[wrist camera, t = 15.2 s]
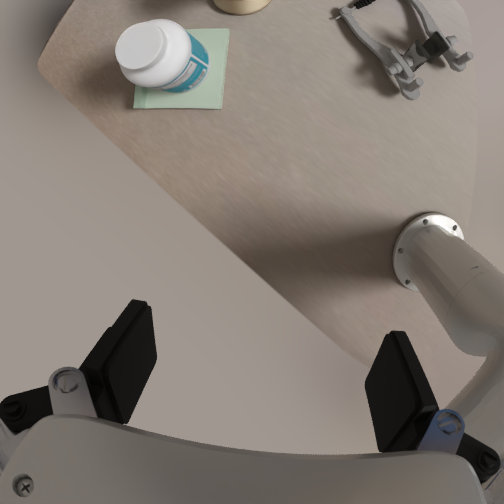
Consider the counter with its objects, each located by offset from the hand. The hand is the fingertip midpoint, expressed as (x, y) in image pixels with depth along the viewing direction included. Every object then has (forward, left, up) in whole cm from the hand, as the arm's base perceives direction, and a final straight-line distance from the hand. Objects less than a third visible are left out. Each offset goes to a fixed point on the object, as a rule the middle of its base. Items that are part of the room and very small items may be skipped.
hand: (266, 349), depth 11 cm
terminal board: (+14, -15, -30) cm, 36 cm away
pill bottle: (+13, -15, -29) cm, 35 cm away
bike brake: (-13, -25, -31) cm, 42 cm away
